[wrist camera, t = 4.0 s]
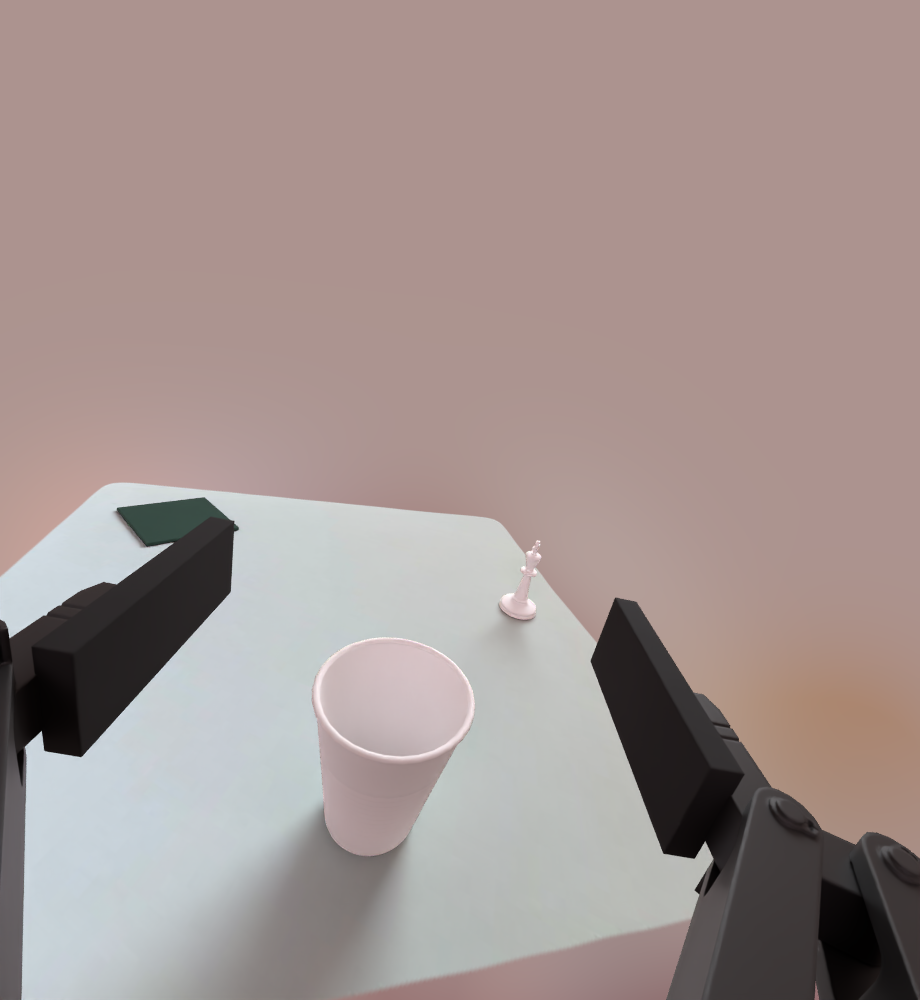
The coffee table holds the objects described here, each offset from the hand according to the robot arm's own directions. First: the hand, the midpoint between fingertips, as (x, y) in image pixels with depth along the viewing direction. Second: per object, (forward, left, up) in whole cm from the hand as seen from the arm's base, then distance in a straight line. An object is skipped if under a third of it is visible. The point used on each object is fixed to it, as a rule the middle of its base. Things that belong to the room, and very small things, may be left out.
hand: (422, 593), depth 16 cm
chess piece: (+38, +14, -24) cm, 47 cm away
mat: (+12, +53, -23) cm, 59 cm away
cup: (+7, +6, -24) cm, 25 cm away
